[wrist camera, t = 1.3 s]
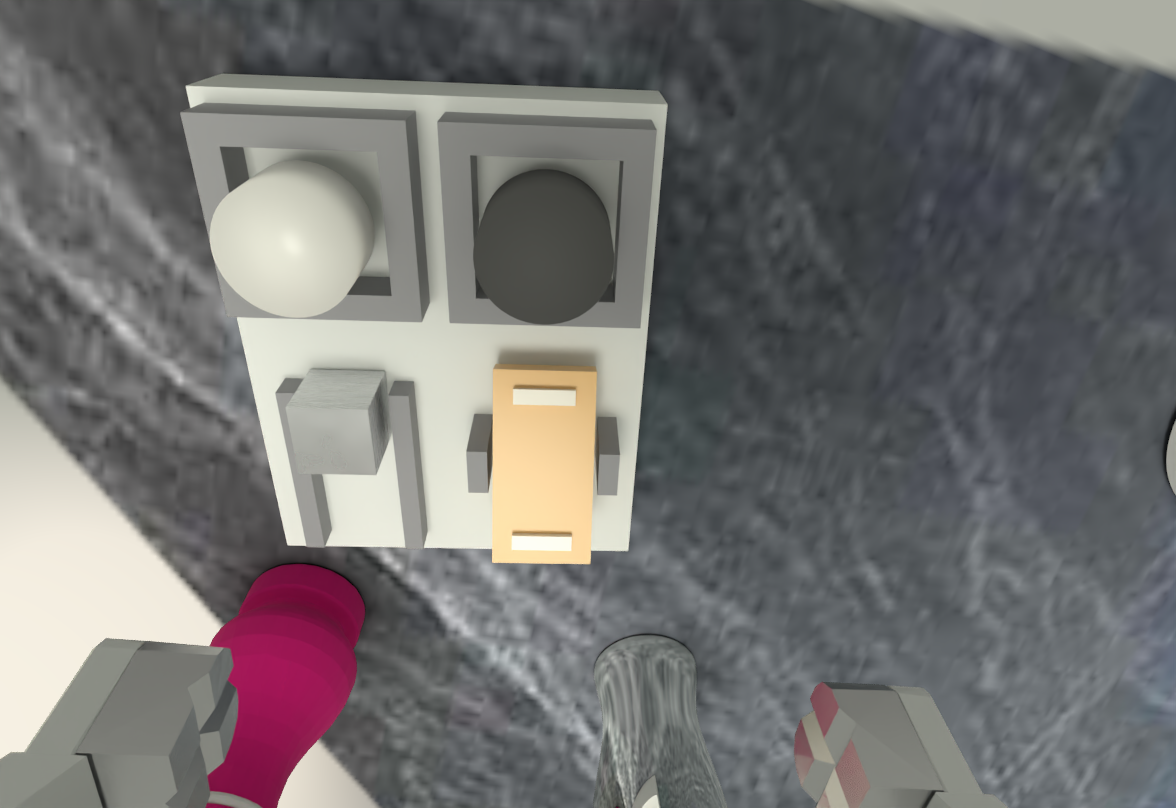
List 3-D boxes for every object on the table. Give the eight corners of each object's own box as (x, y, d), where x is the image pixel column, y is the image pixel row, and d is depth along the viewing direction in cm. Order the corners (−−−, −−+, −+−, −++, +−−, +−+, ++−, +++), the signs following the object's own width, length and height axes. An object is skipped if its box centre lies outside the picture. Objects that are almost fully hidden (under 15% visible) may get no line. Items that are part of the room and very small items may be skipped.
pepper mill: (247, 541, 39) (-12, 1007, 21) (386, 573, 40) (246, 1036, 23) (234, 634, 42) (3, 1099, 25) (362, 660, 43) (225, 1118, 26)
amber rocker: (595, 366, 30) (597, 373, 28) (589, 551, 32) (590, 567, 30) (495, 363, 30) (492, 370, 28) (494, 550, 32) (491, 565, 30)
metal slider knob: (384, 371, 30) (367, 409, 28) (392, 433, 32) (376, 475, 29) (309, 369, 30) (285, 407, 27) (320, 431, 32) (298, 473, 29)
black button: (614, 171, 24) (618, 192, 22) (607, 296, 27) (610, 326, 24) (478, 166, 24) (469, 186, 22) (483, 293, 26) (475, 322, 24)
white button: (367, 162, 24) (347, 182, 22) (381, 290, 26) (364, 319, 24) (228, 157, 24) (194, 177, 22) (254, 286, 26) (226, 315, 24)
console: (658, 90, 28) (677, 119, 23) (624, 510, 38) (632, 594, 33) (222, 73, 27) (143, 99, 22) (307, 504, 37) (266, 588, 32)
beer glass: (562, 675, 44) (558, 968, 32) (640, 610, 42) (670, 901, 29) (648, 721, 47) (677, 1011, 34) (727, 662, 44) (791, 953, 31)
